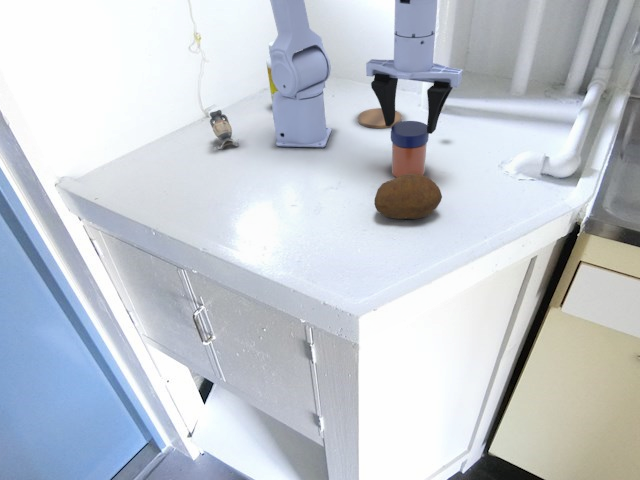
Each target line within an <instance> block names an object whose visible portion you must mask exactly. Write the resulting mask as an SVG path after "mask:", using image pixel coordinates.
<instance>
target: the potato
mask: <svg viewBox="0 0 640 480" xmlns="http://www.w3.org/2000/svg"><path fill="white" fill-rule="evenodd" d="M441 191H442V190H441V189H440V188H439V186H438V185H437V183H436V182H435V181H434V180H432V179H431V178H430V177H428V176H425V175H418V174H404V175H401V176H399V177H395V178H393V179H391V180H387V181H385V182H383V183H382V184H380V186H379V187H378V189H377V190H376V193H375V197H374V203H373V204H374V207H375V209H376V212H378V213H380V214H381V216H384V217H387V218H390V219H396V220H397V219H398V220H404V219H405V220H407V219H412V220H417V219H423V218H425V217H427V216H429V215H431V214H432V213H433V212H434V211H435V210H436V209H437V208H438V206H440V204H441V202H442V198H443V195H442V192H441Z"/></svg>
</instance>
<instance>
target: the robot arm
mask: <svg viewBox="0 0 640 480" xmlns="http://www.w3.org/2000/svg"><path fill="white" fill-rule="evenodd" d="M269 2H270V6H271V10H272V14H273V18H274V23H275V27H276V31H277V36H276V38H275V40H274V41H275V42H274V43H273V45H272V47H271V49H270V51H269V52H268V53H269V57H270V58H271V76H272V80H273V83H274V85H275V87H276V88H277V90H278V91H276V92H275V93H274V95H273V100H272V99H271V111H272V117H273V124H274V131H275V138H276V142H275V143H276V146H277V147H288V148H289V147H291V148H292V147H293V148H294V147H296V148H298V147H299V148H325V147H326V145H327V144H328V140H329V138H330V136H331V133H332V131H333V130H332V128H331V127H327V121H326V108H325V95H324V89H325V88H326V82H327V80H328V79H329V78H330V76H331V73H332V72H331V71H332V68H331V61H330V58H329V56H328V54H327V52H326V50H325V48H324V47H325V46H324V44H323V43H324V42H323V39H322V37H321V35H319V34H317V32H315V31H314V30H312V29H311V28H310V23H309V18H308V12H307V8H306V2H305V0H269ZM438 2H439V1H438V0H394V25H393V26H394V27H393V28H394V30H393V59H376V58H371V59H369V60H368V61H366V63H365V68H366V69H365V73H366V74H365V75H366V77H372V78H373V77H374V78H373V80H372V81H371V83H370V87H371V89H372V91H373V93H374V94H375V97H376V99H377V100H378V104H379V105H380V108H381V109H382V112H383V116H384V120H385V125H386V126H388V128H390V127H389V126H391V125H392V124H393V123H394V121H395V111H396V97H397V87H398V81H399V80H405V81H413V82H414V81H415V82H422V83H428V84H429V83H430V84H433V85H431V86H430V87H429V88H428V89H427V90H426V96H427V103H428V104H427V107H428V109H427V111H428V112H427V123H426V125H427V133H429V135H432V134H433V133H434V132H435V131H436V129H437V125H438V121H439V119H440V116H441V112H442V110H443V108H444V106H445V103H446V101H447V99H448V97H449V95H450V94H451V92H452V90H453V88H455V89H457V88H459V87H460V86H461V85H462V83H463V82H462V81H463V72H464V69H461V68H454V67H451V66H447V65H442V64H439V63H435V62H434V53H435V52H434V51H435V40H436V27H437V14H438V13H437V12H438Z"/></svg>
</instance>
